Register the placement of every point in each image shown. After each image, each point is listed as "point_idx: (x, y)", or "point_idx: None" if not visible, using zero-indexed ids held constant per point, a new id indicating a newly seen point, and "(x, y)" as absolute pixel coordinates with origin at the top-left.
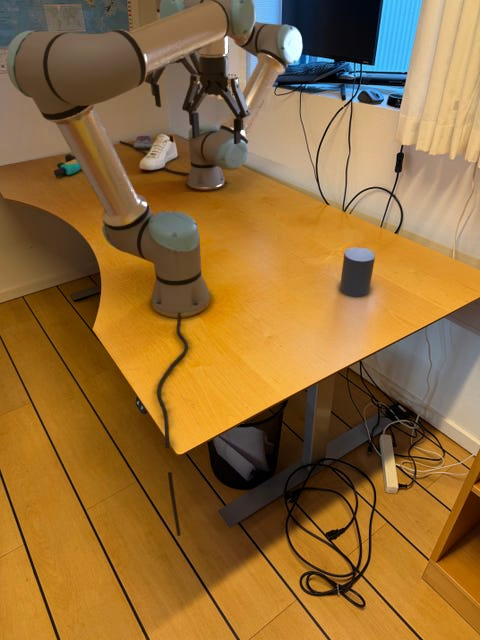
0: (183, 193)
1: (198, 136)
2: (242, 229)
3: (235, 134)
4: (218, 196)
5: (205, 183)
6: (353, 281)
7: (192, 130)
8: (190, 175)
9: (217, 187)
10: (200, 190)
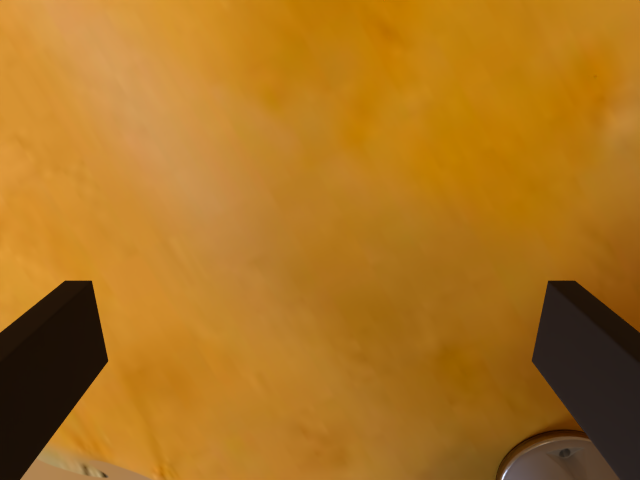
0: None
1: (536, 344)
2: (298, 257)
3: (8, 330)
4: (479, 421)
5: (546, 457)
6: None
7: (619, 321)
8: (616, 475)
9: (506, 463)
10: (551, 432)
